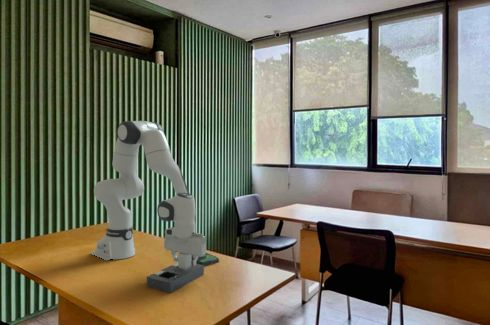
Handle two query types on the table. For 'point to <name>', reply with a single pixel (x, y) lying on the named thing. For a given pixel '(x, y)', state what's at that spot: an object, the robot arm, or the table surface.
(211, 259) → the disk drive
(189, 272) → the panel
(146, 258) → the table surface
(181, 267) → the plug
